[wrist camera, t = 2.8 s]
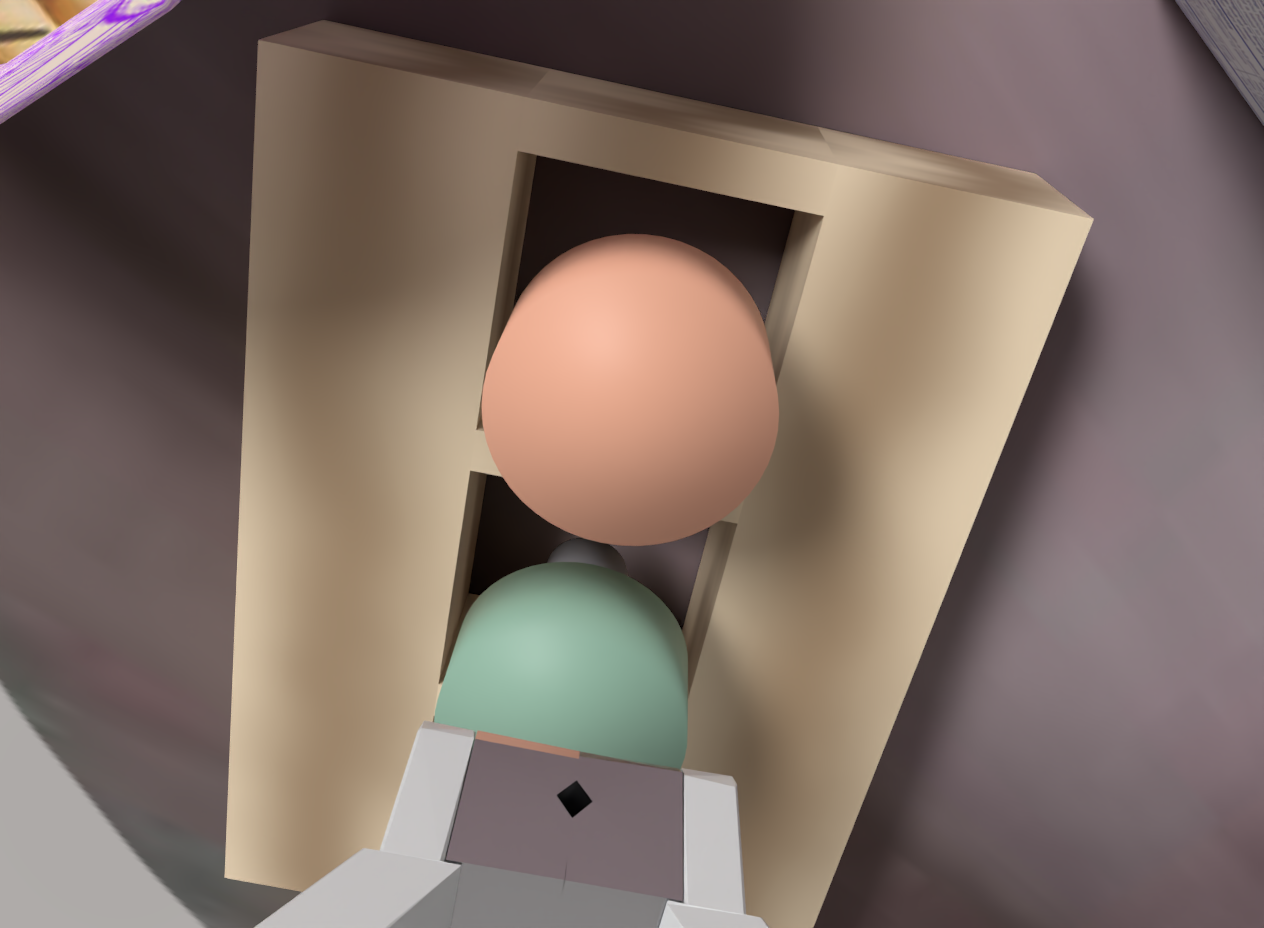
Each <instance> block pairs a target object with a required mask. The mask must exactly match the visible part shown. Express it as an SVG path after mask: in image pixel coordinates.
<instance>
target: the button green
mask: <svg viewBox="0 0 1264 928" xmlns="http://www.w3.org/2000/svg"><path fill="white" fill-rule="evenodd" d="M434 722H435V723H440V724H444V725H449V726H454V727H459V728H464V729H469V730H473V731H475V732H476V734H477V731H478V730H479V731H484V732H488V733H493V734H498V735H503V736H508V737H513V738H517V739H522V740H527V741H532V742H537V743H542V744H547V745H551V746H556V747H561V748H566V749H571V750H576V751H581V752H587V753H593V754H599V755H604V756H610V757H616V758H622V759H627V760H633V761H639V762H645V763H650V764H656V765H662V766H667V767H673V768H678V769H679V770H680V769H681V766H682V764H683V761H684V758H685V754H686V749H687V731H688V653H687V646H686V642H685V639H684V635H683V632H682V630H681V628H680V626H679V624H678V622H677V620H676V619H675V617H674V615H673V614H672V612H671V611H670V609H669V608H668V607H667V606H666V605H665V604H664V603H663V602H662V600H661V599H660V598H659V597H657V596H656V595H655V594H654V593H653V592H652V591H651V590H649V589H648V588H647V587H645V586H644V585H642V584H641V583H639V582H638V581H636V580H634V579H632V578H630V577H628V576H627V567H626V564H625V562H624V559H623V558H622V556H621V555H620V554H619V552H618V551H617V550H616V549H615V548H613V547H612V546H611V545H609V544H606V543H600V542H596V541H592V540H588V539H585V538H576V539H572V540H569V541H566V542H564V543H562V544H561V545H559V546H558V547H557V548H556V549H555V550H554V551H553V552H552V553H551V555H550V556H549V558H548V561H547V563H544V564H539V565H534V566H530V567H527V568H524V569H521V570H518V571H515V572H513V573H511V574H509V575H507V576H505V577H503V578H502V579H500V580H498V581H497V582H495V583H494V584H492V585H491V586H490V587H489V588H488V589H486V590H485V591H484V592H483V593H482V594H481V595H480V596H479V597H478V598H477V600H476V601H475V602H474V603H473V604H472V606H471V608H470V609H469V611H468V612H467V614H466V616H465V618H464V621H463V623H462V626H461V628H460V632H459V635H458V638H457V641H456V644H455V647H454V650H453V653H452V656H451V659H450V663H449V666H448V669H447V672H446V675H445V678H444V681H443V684H442V687H441V690H440V693H439V697H438V700H437V704H436V709H435V718H434Z"/></svg>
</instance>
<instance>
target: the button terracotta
mask: <svg viewBox="0 0 1264 928" xmlns="http://www.w3.org/2000/svg"><path fill="white" fill-rule="evenodd" d="M481 407H482V422H483V428H484V433H485V438H486V442H487V445H488V447H489V450H490V453H491V456H492V458H493V460H494V462H495V464H496V466H497V468H498V470H499V472H500V474H501V475H502V477H503V478H504V480H505V481H506V482H507V484H508V485H509V487H510V488H511V489H512V490H513V492H514V493H515V494H516V495H517V496H518V497H519V498H520V499H521V500H522V502H524V503H525V504H526V505H527V506H528V507H529V508H531V509H532V510H533V511H534V512H535V513H536V514H538V515H539V516H541V517H542V518H544V519H545V520H547V521H548V522H550V523H551V524H553V525H555V526H557V527H559V528H561V529H563V530H565V531H566V532H569V533H571V534H574V535H577V536H579V537H582V538H585V539H588V540H592V541H596V542H600V543H606V544H613V545H620V546H645V545H656V544H662V543H666V542H671V541H676V540H679V539H682V538H685V537H688V536H691V535H693V534H696V533H698V532H700V531H702V530H704V529H706V528H708V527H710V526H712V525H713V524H715V523H716V522H718V521H720V520H721V519H723V518H724V517H725V516H727V515H728V514H729V513H730V512H732V511H733V510H734V509H735V508H737V507H738V506H739V505H740V504H741V502H742V501H743V500H744V499H745V498H746V497H747V496H748V495H749V494H750V493H751V491H752V490H753V489H754V487H755V486H756V484H757V483H758V482H759V480H760V479H761V477H762V475H763V473H764V471H765V469H766V467H767V466H768V463H769V461H770V458H771V455H772V452H773V450H774V447H775V442H776V437H777V432H778V422H779V404H778V393H777V387H776V382H775V376H774V370H773V364H772V358H771V352H770V347H769V341H768V337H767V332H766V328H765V325H764V322H763V320H762V317H761V314H760V312H759V310H758V308H757V306H756V304H755V302H754V300H753V299H752V297H751V295H750V294H749V292H748V291H747V290H746V288H745V287H744V286H743V284H742V283H741V282H740V281H739V280H738V279H737V278H736V277H735V276H734V275H733V274H732V273H731V271H730V270H729V269H727V268H726V267H725V266H724V265H722V264H721V263H720V262H718V261H717V260H716V259H715V258H713V257H711V256H710V255H708V254H706V253H705V252H703V251H701V250H699V249H698V248H695V247H693V246H690V245H688V244H686V243H683V242H681V241H677V240H674V239H670V238H666V237H662V236H655V235H648V234H622V235H614V236H607V237H603V238H599V239H595V240H591V241H589V242H586V243H584V244H581V245H579V246H576V247H574V248H572V249H570V250H569V251H567V252H565V253H563V254H561V255H560V256H558V257H557V258H556V259H554V260H553V261H552V262H550V263H549V264H548V265H546V266H545V267H544V268H543V269H542V270H541V271H540V272H539V273H538V274H537V275H536V276H535V277H534V278H533V279H532V280H531V282H530V283H529V284H528V286H527V287H526V288H525V290H524V291H523V292H522V294H521V296H520V298H519V300H518V301H517V303H516V305H515V307H514V309H513V311H512V313H511V316H510V318H509V320H508V322H507V325H506V327H505V329H504V331H503V333H502V336H501V338H500V340H499V342H498V345H497V347H496V349H495V351H494V354H493V356H492V359H491V361H490V364H489V367H488V369H487V372H486V377H485V381H484V386H483V393H482V406H481Z"/></svg>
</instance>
